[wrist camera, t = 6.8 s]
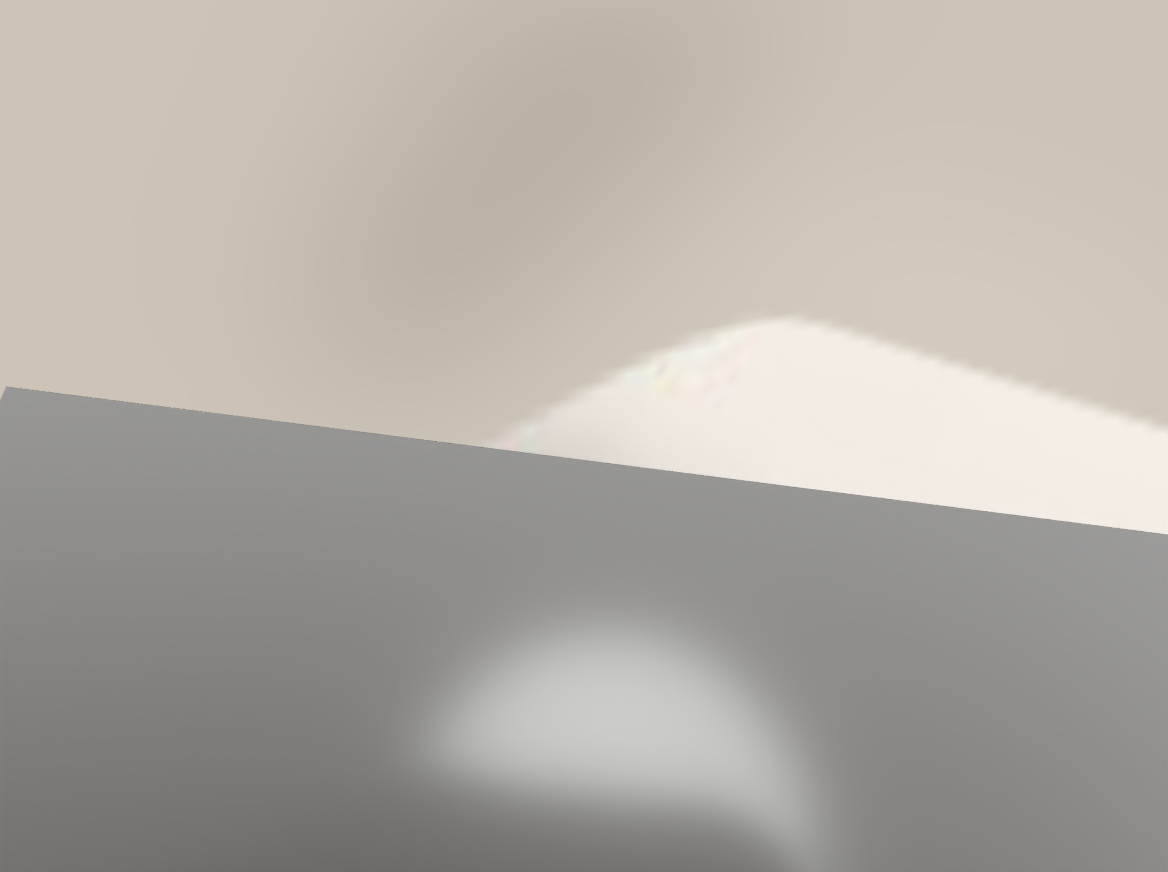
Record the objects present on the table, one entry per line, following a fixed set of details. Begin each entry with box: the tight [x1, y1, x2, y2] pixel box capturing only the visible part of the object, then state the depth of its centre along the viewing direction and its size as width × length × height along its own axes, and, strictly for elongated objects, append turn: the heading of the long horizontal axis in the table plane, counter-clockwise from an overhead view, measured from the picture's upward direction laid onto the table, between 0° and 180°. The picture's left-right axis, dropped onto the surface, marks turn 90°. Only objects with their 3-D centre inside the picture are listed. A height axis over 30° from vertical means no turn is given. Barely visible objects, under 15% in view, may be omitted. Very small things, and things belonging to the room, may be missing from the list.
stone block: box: [0, 387, 1168, 872], centre depth 8 cm, size 6×6×12 cm
